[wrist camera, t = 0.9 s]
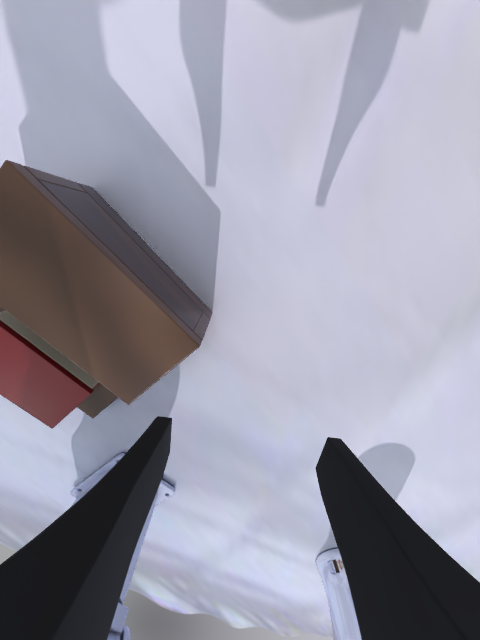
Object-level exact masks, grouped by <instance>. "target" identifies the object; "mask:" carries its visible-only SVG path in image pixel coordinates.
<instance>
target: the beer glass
mask: <svg viewBox="0 0 480 640" xmlns="http://www.w3.org/2000/svg"><path fill="white" fill-rule="evenodd" d="M316 566H317V570H318V573H319V575H320V578H321V581H322V584H323V586H324V590H325V593H326V597H327V600H328V605H329V610H330V616H331V623H332V631H333V639H334V640H362V639H361V634H360V630H359V625H358V621H357V616H356V612H355V608H354V604H353V600H352V596H351V592H350V587H349V583H348V579H347V576H346V572H345V569H344V565H343V562H342V558H341V555H340V552H339V549H338V548H336V549H331V550H327V551H325V552H323V553H322V554H320V555H319V556H318V557H317V559H316Z"/></svg>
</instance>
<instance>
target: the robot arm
mask: <svg viewBox="0 0 480 640" xmlns="http://www.w3.org/2000/svg"><path fill="white" fill-rule="evenodd" d="M171 425H172V418H167V417H159V416H158V417H157V418H155V420H154V421H153V422H152V424H151V425H150V426H149V427H148V429H147V430H146V431H145V432H144V433H143V435H142V436H141V437H140V438H139V439H138V440H137V442H136V443H135V444H134V445H133V446H132V447H131V448H130V449H129V451H128V452H127V453H126V454H124V453H121V454H119V455H117V456H116V457H115V458H113V459H112V460H111V461H109V462H108V463H107V464H105V465H104V466H103V467H101V468H100V469H99V470H97V471H96V472H95V473H93V474H92V475H91V476H89V477H88V478H87V479H85V480H84V481H83V482H81V483H80V484H79V485H77V486H76V487H75V488H73V490H72V491H71V495H72V496H74V497H76V498H77V499H76V500H75V502H74V503H73V505H72V507H71V508H69V509H68V510H67V511H66V512H65V513H64V514H62V515H61V516H60V517H59V518H58V519H57V520H55V521H54V522H53V523H52V524H51V525H50V526H48V527H47V528H46V529H45V530H44V531H42V532H41V533H40V534H39V535H38V536H36V537H35V538H34V539H33V540H31V541H30V542H29V543H28V544H26V545H25V546H24V547H23V548H21V549H20V550H19V551H17V552H16V553H15V554H14V555H12V556H11V557H10V558H8V559H7V560H6V561H4V562H3V563H2V564H1V565H0V640H130V630H129V628H128V627H127V626H125V625H124V624H125V621H126V617H127V614H128V611H129V608H128V607H126V606H123V603H124V601H125V597H126V594H127V591H128V588H129V585H130V582H131V579H132V576H133V572H134V569H135V566H136V563H137V560H138V557H139V554H140V551H141V547H142V544H143V541H144V538H145V535H146V532H147V529H148V526H149V522H150V519H151V516H152V513H153V510H154V507H155V506H156V505H158V504H159V503H161V502H162V501H164V500H166V499H167V498H169V497H170V496H172V495H174V493H175V488H174V487H172V486H171V485H169V484H168V483H166V482H165V481H164V480H162V477H163V474H164V470H165V467H166V463H167V460H168V456H169V453H170V442H171ZM316 472H317V477H318V482H319V487H320V491H321V495H322V499H323V502H324V505H325V508H326V512H327V515H328V518H329V521H330V524H331V527H332V530H333V534H334V537H335V540H336V543H337V546H338V549H339V552H340V555H341V558H342V562H343V565H344V569H345V572H346V576H347V579H348V583H349V587H350V592H351V596H352V600H353V604H354V608H355V612H356V616H357V621H358V625H359V630H360V634H361V639H362V640H480V583H479V582H478V581H477V580H476V579H475V578H474V577H473V576H472V575H470V574H469V573H468V572H467V571H466V570H465V569H464V568H463V567H461V566H460V565H459V564H458V563H457V562H456V561H455V560H454V559H453V558H452V557H451V556H449V555H448V554H447V553H446V552H445V551H444V550H443V549H442V548H441V547H440V546H439V545H438V544H437V543H436V542H435V541H434V540H433V539H432V538H431V537H430V536H429V535H428V534H427V533H425V532H424V531H423V530H422V529H421V528H420V527H419V526H418V525H417V524H416V523H415V522H414V521H413V519H412V518H411V517H410V516H409V515H408V514H407V513H406V512H405V511H404V510H403V509H402V508H401V507H400V506H399V505H398V504H397V503H396V502H395V500H394V499H393V498H392V497H391V496H390V495H389V494H388V493H387V492H386V491H385V489H384V488H383V487H382V486H381V485H380V484H379V483H378V482H377V480H376V479H375V478H374V477H373V476H372V475H371V474H370V472H369V471H368V470H367V469H366V468H365V467H364V465H363V464H362V463H361V462H360V461H359V460H358V458H357V457H356V456H355V455H354V454H353V453H352V451H351V450H350V449H349V448H348V447H347V446H346V444H345V443H344V442H343V441H342V440H341V439H338V438H330V437H328V438H327V441H326V443H325V446H324V448H323V451H322V453H321V456H320V458H319V461H318V463H317V466H316Z"/></svg>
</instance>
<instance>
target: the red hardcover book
mask: <svg viewBox="0 0 480 640" xmlns="http://www.w3.org/2000/svg"><path fill="white" fill-rule="evenodd" d="M98 384H99V382H98V381H97V380H95V379H94V378H93V377H92V376H90V375H89V374H88V373H86V372H85V371H84V370H82V369H81V368H80V367H79V366H77V365H76V364H75V363H73V362H72V361H71V360H69V359H68V358H67V357H66V356H64V355H63V354H62V353H60V352H59V351H58V350H56V349H55V348H54V347H53V346H51V345H50V344H49V343H47V342H46V341H45V340H44V339H42V338H41V337H40V336H38V335H37V334H36V333H34V332H33V331H32V330H31V329H29V328H28V327H27V326H25V325H24V324H23V323H21V322H20V321H19V320H18V319H16V318H15V317H14V316H12V315H11V314H10V313H8V312H7V311H6V310H5V311H2V312H0V395H2V396H3V397H5V398H6V399H8V400H9V401H11V402H12V403H14V404H15V405H17V406H19V407H20V408H22V409H23V410H25V411H26V412H28V413H29V414H31V415H32V416H34V417H35V418H37V419H38V420H40V421H41V422H43V423H44V424H46V425H47V426H49V427H50V428H54V427H55V426H56V425H57V424H58V423H59V422H60V421H61V420H63V419H64V418H65V417H66V416H67V415H68V414H69V413H70V412H71V411H73V410H74V409H75V408H76V407H77V406H78V405H79V404H80V403H82V402H83V401H84V400H85V399H86V398H87V397H88V396H89V395H91V394H92V392H93V391H94V390H93V389H94V388H95V387H96V386H97V385H98Z"/></svg>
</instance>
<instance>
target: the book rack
mask: <svg viewBox="0 0 480 640" xmlns="http://www.w3.org/2000/svg"><path fill="white" fill-rule="evenodd" d="M5 310H6V311H7V312H8V313H10V314H11V315H12V316H14V317H15V318H16V319H18V320H19V321H20V322H21V323H23V324H24V325H25V326H27V327H28V328H29V329H31V330H32V331H33V332H34V333H36V334H37V335H38V336H40V337H41V338H42V339H44V340H45V341H46V342H47V343H49V344H50V345H51V346H53V347H54V348H55V349H56V350H58V351H59V352H60V353H62V354H63V355H64V356H66V357H67V358H68V359H69V360H71V361H72V362H73V363H75V364H76V365H77V366H79V367H80V368H81V369H82V370H84V371H85V372H86V373H88V374H89V375H90V376H92V377H93V378H94V379H95V380H97V381H98V382H99V384H98V385H97V386H96V387H95V388H94V389H93V390H94V391H93V392H92V394H91V395H89V396H88V397H87V398H86V399H85V400H84V401H83V402H82V403H80V404H79V405H78V406H77V407H78V408H79V409H80V410H82V411H83V412H85V413H86V414H87V415H89V416H90V417H92V418H94V417H95V416H96V415H98V414H99V413H100V412H101V411H102V410H104V409H105V408H106V407H107V406H108V405H109V404H111V403H112V402H113V401H114V400H115V399H117V398H118V397H119V398H120V399H121V400H123V401H124V402H125V403H127V404H128V405H129V404H130V403H132V402H133V401H134V400H135V399H136V398H138V397H139V396H140V395H141V394H143V393H144V392H145V391H146V390H147V389H149V388H150V387H151V386H152V385H154V384H155V383H156V382H157V381H158V380H160V379H161V378H162V377H163V376H165V375H166V374H167V373H168V372H169V371H171V370H172V369H173V368H174V367H176V366H177V365H178V364H179V363H180V362H182V361H183V360H184V359H185V358H186V357H188V356H189V355H190V354H191V353H193V352H194V351H195V350H196V349H197V348H199V347H200V345H201V342H202V340H203V337H204V335H205V332H206V329H207V327H208V324H209V321H210V318H211V315H212V312H211V311H210V310H209V309H208V308H207V307H206V305H205V304H204V303H203V302H202V301H201V300H200V299H199V298H198V297H197V296H196V295H195V294H194V293H193V292H192V291H191V290H190V289H189V288H188V287H187V286H186V285H185V284H184V283H183V282H182V281H181V279H180V278H179V277H178V276H177V275H176V274H175V273H174V272H173V271H172V270H171V269H170V268H169V267H168V266H167V265H166V264H165V263H164V262H163V261H162V260H161V259H160V258H159V257H158V256H157V255H156V253H155V252H154V251H153V250H152V249H151V248H150V247H149V246H148V245H147V244H146V243H145V242H144V241H143V240H142V239H141V238H140V237H139V236H138V235H137V234H136V233H135V232H134V231H133V230H132V229H131V227H130V226H129V225H128V224H127V223H126V222H125V221H124V220H123V219H122V218H121V217H120V216H119V215H118V214H117V213H116V212H115V211H114V210H113V209H112V208H111V207H110V206H109V205H108V204H107V203H106V201H105V200H104V199H103V198H102V197H101V196H100V195H99V194H98V193H97V192H96V191H95V190H94V189H93V188H92V187H89V186H86V185H83V184H80V183H76V182H73V181H70V180H67V179H64V178H61V177H58V176H55V175H51V174H48V173H45V172H42V171H39V170H36V169H33V168H30V167H27V166H22V165H21V164H18V163H14V162H11V161H8V160H6V161H5V162H4V163H3V165H2V166H1V168H0V312H2V311H5Z"/></svg>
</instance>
